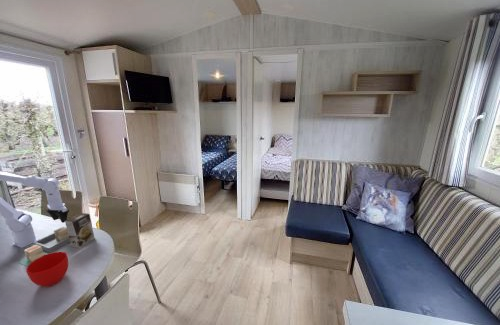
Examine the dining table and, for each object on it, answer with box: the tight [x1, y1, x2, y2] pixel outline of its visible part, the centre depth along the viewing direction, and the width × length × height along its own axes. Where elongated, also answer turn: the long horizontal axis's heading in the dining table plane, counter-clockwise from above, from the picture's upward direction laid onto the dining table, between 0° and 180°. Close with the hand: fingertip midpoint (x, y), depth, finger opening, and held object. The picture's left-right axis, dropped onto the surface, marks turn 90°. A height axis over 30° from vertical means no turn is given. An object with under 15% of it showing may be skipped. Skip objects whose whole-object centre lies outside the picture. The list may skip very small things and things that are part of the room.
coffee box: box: [64, 212, 96, 248], centre depth 117 cm, size 9×6×16 cm
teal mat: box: [18, 251, 49, 268], centre depth 106 cm, size 9×9×1 cm
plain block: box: [53, 226, 69, 242], centre depth 121 cm, size 5×5×6 cm
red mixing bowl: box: [25, 251, 69, 288], centre depth 93 cm, size 13×17×10 cm
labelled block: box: [23, 244, 44, 262], centre depth 106 cm, size 5×5×6 cm
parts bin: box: [32, 232, 70, 253], centre depth 119 cm, size 14×14×3 cm
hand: (60, 220), depth 124 cm, fingers open, 7 cm apart
